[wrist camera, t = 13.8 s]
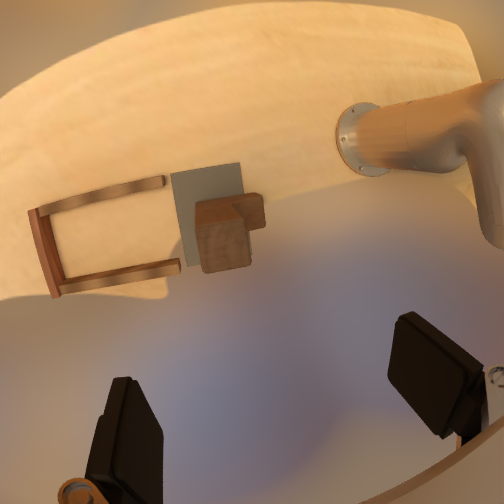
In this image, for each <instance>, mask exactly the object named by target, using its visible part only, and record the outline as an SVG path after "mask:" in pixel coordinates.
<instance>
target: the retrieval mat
mask: <svg viewBox="0 0 504 504" xmlns="http://www.w3.org/2000/svg"><path fill="white" fill-rule="evenodd" d="M170 176H171V182H172V188H173V194H174V200H175V205H176V211H177V217H178V222H179V227H180V233H181V238H182V242H183V248H184V253H185V257H186V262H187V266H194V265H199V264H201V261H200V256H199V251H198V246H197V240H196V235H195V204H196V202H199V201H205V200H210V199H216V198H222V197H228V196H235V195H241V194H244V192H243V185H242V177H241V170H240V163H232V164H225V165H219V166H212V167H206V168H200V169H194V170H189V171H183V172H178V173H173V174H170ZM248 238H249V245H250V253H251V255H252V250H251V243H250V235H249V231H248Z"/></svg>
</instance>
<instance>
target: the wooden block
mask: <svg viewBox="0 0 504 504" xmlns="http://www.w3.org/2000/svg"><path fill="white" fill-rule="evenodd" d="M265 226H266V222H265V213H264V205H263V197H262V196H261V195H259V194H257V193H248V194H241V195H235V196H228V197H222V198H216V199H210V200H205V201H199V202H196V204H195V235H196V240H197V246H198V251H199V256H200V261H201V267H202V271H203V272H204V273H207V274H208V273H214V272H219V271H225V270H230V269H235V268H241V267H246V266H249V265H251V262H252V260H251V253H250V245H249V238H248V231H250V230H255V229H260V228H264V227H265Z"/></svg>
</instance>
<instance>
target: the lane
mask: <svg viewBox="0 0 504 504" xmlns="http://www.w3.org/2000/svg"><path fill="white" fill-rule="evenodd" d="M163 186H165V180H164V175H162V176H157V177H153V178H148V179H143V180H139V181H134V182H130V183H125V184H121V185H117V186H113V187H109V188H105V189H101V190H97V191H93V192H89V193H85V194H82V195H78V196H74V197H71V198H67V199H64V200H60V201H57V202H54V203H51V204H47V205H44V206H41V207H38V208H35V209H32V210H29V211H28V216H29V221H30V225H31V230H32V234H33V238H34V242H35V245H36V249H37V253H38V256H39V260H40V263H41V267H42V270H43V273H44V276H45V279H46V282H47V285H48V288H49V291H50V294H51V297H52V298H59V297H60V296H61V295H63V294H69V293H75V292H81V291H86V290H92V289H98V288H104V287H109V286H115V285H121V284H126V283H132V282H138V281H143V280H149V279H154V278H160V277H165V276H171V275H176V274H180V272H181V264H180V260H179V258H175V259H169V260H164V261H158V262H153V263H148V264H142V265H137V266H132V267H126V268H121V269H116V270H110V271H105V272H100V273H95V274H89V275H84V276H79V277H74V278H69V279H65V275H64V272H63V269H62V266H61V262H60V259H59V255H58V252H57V248H56V244H55V240H54V236H53V232H52V228H51V224H50V219H49V214H53V213H56V212H60V211H63V210H67V209H70V208H74V207H78V206H81V205H85V204H89V203H93V202H97V201H101V200H105V199H109V198H113V197H118V196H122V195H126V194H131V193H135V192H140V191H145V190H149V189H154V188H159V187H163Z"/></svg>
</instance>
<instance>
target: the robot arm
mask: <svg viewBox="0 0 504 504" xmlns="http://www.w3.org/2000/svg"><path fill="white" fill-rule="evenodd" d="M352 111H353V112H352ZM341 139H342V141H341ZM336 141H337V146H338V150H339V152H340V154H341V157H342V158H343V160H344V161H345V163H346V164H347V165H348V166H349V167H350V168H351V169H352V170H354V171H355V172H357V173H359V174H361V175H364V176H371V177H374V176H380V175H383V174H385V173H386V172H388V171H389V170H390V169H402V170H413V171H423V172H432V173H449V172H452V171H455V170H456V169H458V168H459V167H461V166H462V165H463V164H464V163H465V162H466V161H467V162H468V165H469V169H470V174H471V176H472V181H473V186H474V192H475V198H476V204H477V211H478V217H479V222H480V227H481V231H482V233H483V235H484V237H485V239H486V240H487V241H488V242H489V243H490V244H491V245H493V246H494V247H496V248H498V249H501V250H504V79H495V80H489V81H485V82H481V83H478V84H475V85H473V86H470V87H467V88H464V89H462V90H458V91H455V92H452V93H448V94H444V95H440V96H435V97H430V98H424V99H419V100H414V101H409V102H404V103H399V104H395V105H390V106H386V107H379V106H377V105H375V104H372V103H359V104H355V105H353V106H351V107H349V108H348V109H347V110H345V112H344V113H343V114H342V115H341V117H340V119H339V121H338V125H337V130H336ZM483 367H484V365H483V364H481V363H480V362H479V361H478V360H476V359H475V358H474V357H472V356H471V355H470V354H469V353H468V352H466V351H465V350H464V349H463V348H461V347H460V346H459V345H457V344H456V343H455V342H454V341H452V340H451V339H450V338H448V337H447V336H446V335H444V334H443V333H442V332H441V331H439V330H438V329H437V328H435V327H434V326H433V325H431V324H430V323H429V322H427V321H426V320H425V319H424V318H422V317H421V316H420V315H418V314H417V313H415V312H413V311H412V312H409V313H406V314H403V315H401V316H399V318H398V321H396V323H395V329H394V337H393V344H392V350H391V356H390V363H389V368H388V379H389V381H390V382H391V384H392V385H393V386H394V387H395V388H396V389H397V391H398V392H399V393H400V394H401V395H402V397H403V398H404V399H405V400H406V401H407V403H408V404H409V405H410V406H411V407H412V408H413V410H414V411H415V412H416V413H417V414H418V416H419V417H420V418H421V419H422V420H423V421H424V423H425V424H426V425H427V426H428V427H429V429H430V430H431V431H432V432H433V433H434V434H435V435H439V436H440V438H441V439H444V438H446V437H448V436H449V435H451V434H452V433H453V432H455V433H456V434H457V442H456V451H455V452H453V453H452V454H450V455H449V456H447V457H446V458H444V459H443V460H441V461H440V462H438V463H437V464H435V465H434V466H432V467H430V468H428V469H427V470H425V471H423V472H422V473H420V474H418V475H416V476H415V477H413V478H411V479H409V480H407V481H405V482H404V483H402V484H400V485H398V486H396V487H394V488H392V489H390V490H388V491H386V492H384V493H381V494H379V495H377V496H375V497H373V498H370V499H368V500H366V501H364V502H361V503H359V504H504V364H494V365H491V366H489V367H488V368H487V370H486V372H483V371H482V370H483ZM163 440H164V437H163V431H162V428H161V427H160V425H159V423H158V421H157V419H156V417H155V415H154V413H153V412H152V410H151V408H150V406H149V404H148V402H147V400H146V398H145V396H144V394H143V391H142V389H141V387H140V385H139V383H138V381H137V380H132V378H131V377H117V378H114V379H113V382H112V385H111V389H110V392H109V395H108V399H107V403H106V406H105V410H104V414H103V415H101V416H100V417H99V419H98V422H97V426H96V430H95V434H94V438H93V442H92V446H91V450H90V454H89V459H88V463H87V468H86V473H85V478H73V479H70V480H68V481H66V482H65V483H64V484H63V485H62V486H61V488H60V489H59V492H58V502H59V504H163V442H164V441H163Z"/></svg>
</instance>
